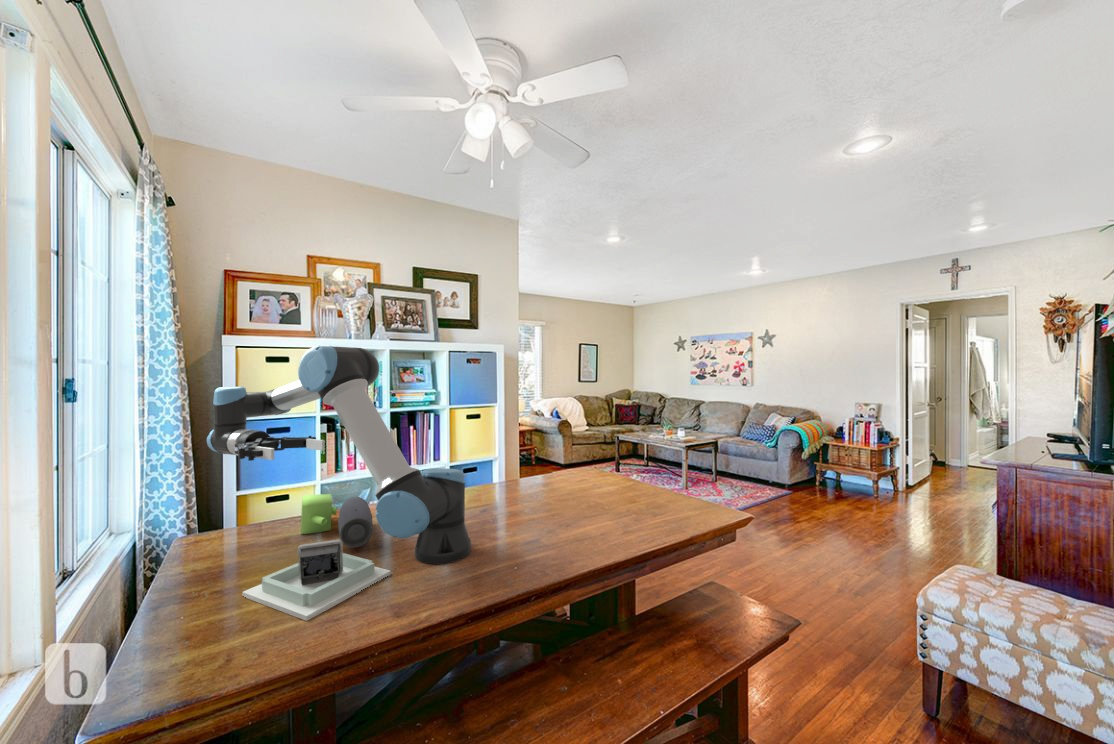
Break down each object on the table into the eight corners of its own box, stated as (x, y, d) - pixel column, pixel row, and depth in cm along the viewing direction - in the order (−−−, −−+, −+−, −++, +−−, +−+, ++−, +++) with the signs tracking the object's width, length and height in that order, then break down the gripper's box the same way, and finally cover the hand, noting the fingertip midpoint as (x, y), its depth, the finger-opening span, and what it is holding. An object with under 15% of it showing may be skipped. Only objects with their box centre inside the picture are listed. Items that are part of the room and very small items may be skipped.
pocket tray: (390, 574, 109) (390, 560, 109) (306, 620, 89) (306, 603, 89) (330, 558, 118) (330, 545, 118) (242, 596, 98) (242, 580, 98)
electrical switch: (343, 571, 108) (342, 535, 107) (342, 583, 103) (341, 545, 102) (299, 579, 104) (298, 541, 104) (296, 591, 100) (295, 552, 99)
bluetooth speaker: (374, 548, 124) (374, 513, 124) (338, 555, 120) (337, 518, 120) (370, 523, 145) (370, 493, 145) (338, 527, 141) (338, 496, 141)
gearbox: (337, 536, 135) (338, 505, 135) (299, 540, 130) (301, 508, 130) (334, 517, 151) (336, 489, 151) (301, 520, 146) (303, 492, 146)
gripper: (293, 449, 135) (341, 455, 125) (198, 465, 112) (248, 474, 103) (293, 424, 135) (341, 429, 125) (198, 436, 112) (248, 442, 103)
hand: (299, 449), depth 114 cm, fingers open, 13 cm apart
